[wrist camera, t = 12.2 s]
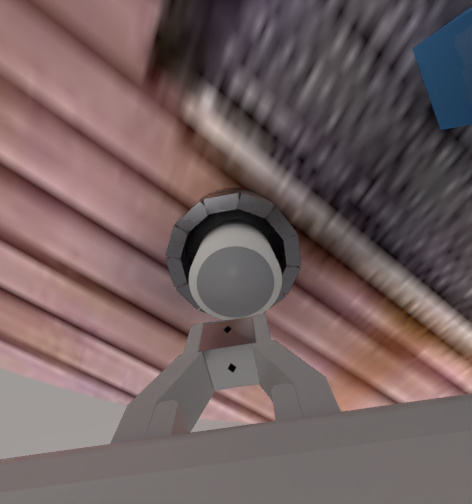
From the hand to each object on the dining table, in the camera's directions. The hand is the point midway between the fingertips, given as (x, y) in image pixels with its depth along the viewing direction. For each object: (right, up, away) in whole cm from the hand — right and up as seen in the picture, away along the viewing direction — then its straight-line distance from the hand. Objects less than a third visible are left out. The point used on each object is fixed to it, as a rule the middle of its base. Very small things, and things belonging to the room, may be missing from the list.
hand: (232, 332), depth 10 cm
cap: (0, +3, +9) cm, 9 cm away
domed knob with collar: (0, +4, +12) cm, 12 cm away
